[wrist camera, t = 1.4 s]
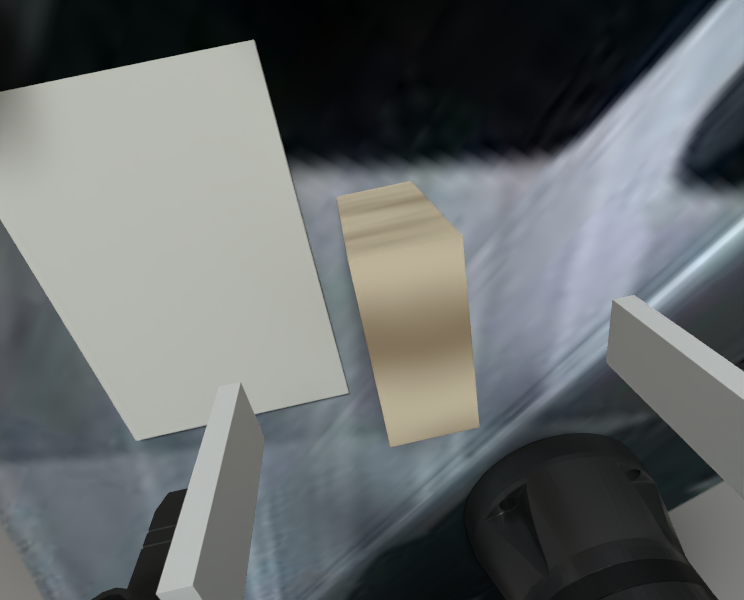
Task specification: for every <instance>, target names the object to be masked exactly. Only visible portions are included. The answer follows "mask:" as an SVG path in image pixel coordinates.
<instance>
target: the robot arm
mask: <svg viewBox="0 0 744 600" xmlns="http://www.w3.org/2000/svg"><path fill="white" fill-rule="evenodd" d="M606 363H607V364H608V365H609V366H610V367H611V368H612V369H613V370H614V371H615V372H616V373H617V374H618V375H619V376H620V377H621V378H622V379H623V380H624V381H625V382H626V383H627V384H628V385H629V386H630V387H631V388H632V389H633V390H634V391H635V392H636V393H637V394H638V395H639V396H640V397H641V398H642V399H643V400H644V401H645V402H646V403H647V404H648V405H649V406H650V407H651V408H652V409H653V410H654V411H655V412H656V413H657V414H658V415H659V416H660V417H661V418H662V419H663V420H664V421H665V422H666V423H667V424H668V425H669V426H670V427H671V428H672V429H673V430H674V431H675V432H676V433H677V434H678V435H679V436H680V437H681V438H682V439H684V440H685V441H686V442H687V443H688V444H689V445H690V446H691V447H692V448H693V449H694V450H695V451H696V452H697V453H698V454H699V455H700V456H701V457H702V458H703V459H704V460H705V461H706V462H707V463H708V464H709V465H710V466H711V467H712V468H713V469H714V470H715V471H716V472H717V473H718V474H719V475H720V476H721V477H722V478H723V479H724V480H725V481H726V482H727V483H728V484H729V485H730V486H731V487H732V488H733V489H734V490H735V491H736V492H737V493H738V494H739V495H740V496H741V497H742V498H743V499H744V362H743V363H738V364H732V363H731V362H729V361H728V360H726V359H725V358H724V357H722V356H721V355H719V354H718V353H716V352H715V351H714V350H712V349H711V348H709V347H708V346H706V345H705V344H704V343H702V342H701V341H699V340H698V339H696V338H695V337H693V336H692V335H691V334H689V333H688V332H686V331H685V330H683V329H682V328H681V327H679V326H678V325H676V324H675V323H673V322H672V321H671V320H669V319H668V318H666V317H665V316H663V315H662V314H661V313H659V312H658V311H656V310H655V309H653V308H652V307H650V306H649V305H648V304H646V303H645V302H643V301H642V300H640V299H639V298H638V297H636V296H635V295H631V296H627V297H622V298H618V299H613V301H612V310H611V320H610V329H609V339H608V349H607V358H606ZM264 442H265V438H264V435H263V433H262V431H261V428H260V426H259V424H258V421H257V419H256V417H255V414H254V412H253V409H252V407H251V405H250V402H249V400H248V398H247V395H246V393H245V391H244V388H243V386H242V384H241V382H238V383H233V384H229V385H224V386H220V387H218V391H217V394H216V397H215V401H214V404H213V407H212V411H211V414H210V417H209V420H208V424H207V427H206V430H205V434H204V437H203V440H202V444H201V447H200V450H199V453H198V457H197V460H196V463H195V467H194V470H193V473H192V477H191V480H190V483H189V486H188V488H187V489H183V490H179V491H174V492H170V493H168V494H167V496H166V497H165V498H164V500H163V501H162V503H161V504H160V505H159V507H158V508H157V509H156V511H155V513H154V516H153V519H152V522H151V524H150V527H149V533H147V536H146V538H145V541H144V544H143V549H141V552H140V555H139V558H138V560H137V563H136V566H135V569H134V572H133V574H132V577H131V580H130V583H129V585H128V588H127V589H124V588H114V589H111V590H108V591H105V592H102V593H101V594H99V595H98V596H96V597H95V598H93V599H92V600H243V598H244V591H245V583H246V576H247V568H248V561H249V553H250V546H251V539H252V531H253V524H254V516H255V509H256V501H257V494H258V486H259V479H260V472H261V464H262V457H263V449H264ZM464 523H465V527H466V531H467V534H468V536H469V539H470V542H471V545H472V548H473V551H474V553H475V555H476V557H477V559H478V561H479V562H480V564H481V565H482V567H483V568H484V569H485V571H486V572H487V573H488V575H489V576H490V578H491V579H492V580H493V582H494V583H495V585H496V586H497V587H498V589H499V590H500V591H501V593H502V594H503V596H504V597H505V598H506V600H718V599H717V597H716V596H715V595H714V594H713V593H712V591H711V590H710V589H709V587H708V586H707V585H706V583H705V582H704V581H703V580H702V578H701V577H700V576H699V575H698V573H697V572H696V570H695V569H694V568H693V566H692V565H691V564H690V562H689V561H688V559H687V558H686V556H685V554H684V551H683V549H682V546H681V544H680V541H679V539H678V537H677V534H676V532H675V529H674V527H673V524H672V522H671V520H670V517H669V515H668V512H667V510H666V507H665V505H664V503H663V500H662V498H661V495H660V493H659V491H658V488H657V486H656V483H655V481H654V479H653V478H652V476H651V474H650V473H649V472H648V470H647V469H646V468H645V467H644V465H643V464H642V463H641V462H640V461H639V460H638V458H637V457H636V456H635V455H634V454H633V452H632V451H631V450H630V449H629V448H628V447H627V446H625V445H624V444H622V443H621V442H619V441H617V440H615V439H613V438H610V437H607V436H603V435H597V434H589V433H575V434H566V435H559V436H554V437H550V438H546V439H543V440H540V441H537V442H534V443H532V444H529V445H527V446H525V447H523V448H521V449H519V450H517V451H515V452H513V453H511V454H510V455H508V456H507V457H505V458H504V459H502V460H501V461H499V462H498V463H497V464H495V465H494V466H493V467H492V468H491V469H490V470H488V471H487V472H486V473H485V474H484V475H483V477H482V478H481V479H480V480H479V481H478V483H477V484H476V485H475V487H474V488H473V490H472V492H471V493H470V495H469V497H468V500H467V503H466V506H465V511H464Z"/></svg>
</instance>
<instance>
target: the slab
mask: <svg viewBox="0 0 744 600" xmlns="http://www.w3.org/2000/svg"><path fill="white" fill-rule="evenodd" d="M337 203H338V208H339V214H340V219H341V224H342V230H343V235H344V241H345V246H346V252H347V257H348V262H349V267H350V271H351V276H352V280H353V284H354V289H355V293H356V298H357V302H358V306H359V311H360V315H361V320H362V324H363V328H364V333H365V337H366V342H367V346H368V350H369V355H370V359H371V363H372V368H373V372H374V377H375V381H376V385H377V390H378V394H379V399H380V403H381V407H382V412H383V416H384V421H385V425H386V429H387V434H388V438H389V443H390V447H394V446H398V445H403V444H407V443H412V442H416V441H421V440H425V439H429V438H434V437H438V436H443V435H447V434H451V433H456V432H460V431H465V430H469V429H474V428H478V427H479V417H478V406H477V395H476V383H475V372H474V361H473V349H472V338H471V327H470V315H469V304H468V292H467V281H466V270H465V258H464V247H463V236H462V235H461V233H460V232H459V231H458V230H457V229H456V228H455V227H454V226H453V225H452V224H451V223H450V222H449V221H448V220H447V219H446V218H445V217H444V216H443V214H442V213H441V212H440V211H439V210H438V209H437V208H436V207H435V206H434V205H433V204H432V203H431V202H430V201H429V200H428V199H427V198H426V196H425V195H424V194H423V193H422V192H421V191H420V190H419V189H418V188H417V187H416V186H415V185H414V184H413V183H412V182H411V181H408V182H404V183H399V184H394V185H390V186H385V187H380V188H376V189H371V190H366V191H362V192H357V193H352V194H348V195H343V196H338V197H337Z"/></svg>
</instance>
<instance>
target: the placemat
mask: <svg viewBox="0 0 744 600" xmlns="http://www.w3.org/2000/svg"><path fill="white" fill-rule="evenodd" d="M0 219H1V221H2V223H3V224H4V226H5V228H6V229H7V231H8V232H9V234H10V236H11V237H12V239H13V241H14V242H15V244H16V246H17V247H18V249H19V250H20V252H21V254H22V255H23V257H24V259H25V260H26V262H27V263H28V265H29V267H30V268H31V270H32V272H33V273H34V275H35V277H36V278H37V280H38V281H39V283H40V285H41V286H42V288H43V290H44V291H45V293H46V295H47V296H48V298H49V299H50V301H51V303H52V304H53V306H54V308H55V309H56V311H57V312H58V314H59V316H60V317H61V319H62V321H63V322H64V324H65V326H66V327H67V329H68V330H69V332H70V334H71V335H72V337H73V339H74V340H75V342H76V344H77V345H78V347H79V348H80V350H81V352H82V353H83V355H84V357H85V358H86V360H87V361H88V363H89V365H90V366H91V368H92V370H93V371H94V373H95V375H96V376H97V378H98V379H99V381H100V383H101V384H102V386H103V388H104V389H105V391H106V393H107V394H108V396H109V397H110V399H111V401H112V402H113V404H114V406H115V407H116V409H117V410H118V412H119V414H120V415H121V417H122V419H123V420H124V422H125V424H126V425H127V427H128V428H129V430H130V432H131V433H132V435H133V437H134V438H135V440H136V441H137V440H142V439H146V438H151V437H155V436H160V435H164V434H169V433H173V432H178V431H182V430H186V429H191V428H195V427H200V426H204V425H207V424H208V420H209V417H210V414H211V411H212V407H213V404H214V401H215V397H216V394H217V391H218V387H220V386H224V385H229V384H233V383H238V382H241V384H242V386H243V388H244V391H245V393H246V395H247V398H248V400H249V402H250V405H251V407H252V409H253V412H254V414H258V413H262V412H267V411H271V410H276V409H280V408H285V407H289V406H294V405H298V404H303V403H307V402H312V401H316V400H320V399H325V398H329V397H334V396H338V395H343V394H347V393H349V390H348V386H347V382H346V378H345V375H344V371H343V367H342V363H341V360H340V356H339V352H338V349H337V345H336V341H335V337H334V334H333V330H332V326H331V322H330V319H329V315H328V311H327V308H326V304H325V300H324V296H323V293H322V289H321V285H320V281H319V278H318V274H317V270H316V266H315V263H314V259H313V255H312V252H311V248H310V244H309V240H308V237H307V233H306V229H305V225H304V222H303V218H302V214H301V211H300V207H299V203H298V199H297V196H296V192H295V188H294V184H293V181H292V177H291V173H290V170H289V166H288V162H287V158H286V155H285V151H284V147H283V143H282V140H281V136H280V132H279V129H278V125H277V121H276V117H275V114H274V110H273V106H272V102H271V99H270V95H269V91H268V88H267V84H266V80H265V76H264V73H263V69H262V65H261V61H260V58H259V54H258V50H257V47H256V43H255V40H250V41H245V42H240V43H235V44H230V45H226V46H221V47H216V48H211V49H206V50H201V51H197V52H192V53H187V54H182V55H177V56H172V57H167V58H163V59H158V60H153V61H148V62H143V63H138V64H133V65H129V66H124V67H119V68H114V69H109V70H104V71H100V72H95V73H90V74H85V75H80V76H75V77H70V78H66V79H61V80H56V81H51V82H46V83H41V84H36V85H32V86H27V87H22V88H17V89H12V90H7V91H3V92H0Z"/></svg>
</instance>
